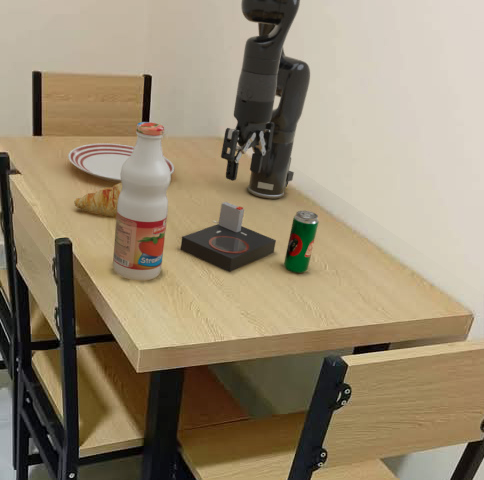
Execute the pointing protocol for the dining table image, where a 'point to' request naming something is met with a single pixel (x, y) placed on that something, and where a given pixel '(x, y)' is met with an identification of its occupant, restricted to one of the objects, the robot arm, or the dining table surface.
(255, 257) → the cooker
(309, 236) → the soda can
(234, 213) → the cooker dial
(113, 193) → the croissant
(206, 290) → the dining table surface
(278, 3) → the robot arm
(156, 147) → the strawberry milk bottle
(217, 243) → the hot plate ring
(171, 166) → the dinner plate
